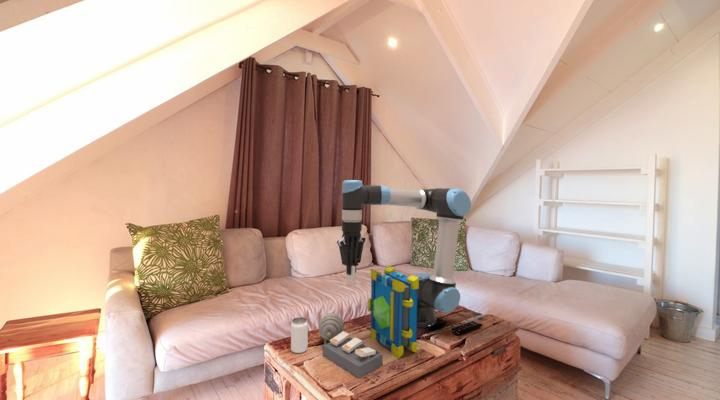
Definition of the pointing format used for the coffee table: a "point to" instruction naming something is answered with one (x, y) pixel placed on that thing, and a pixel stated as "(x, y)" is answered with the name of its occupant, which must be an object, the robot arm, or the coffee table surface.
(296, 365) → the coffee table surface
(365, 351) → the small box
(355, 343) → the rocker
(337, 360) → the rocker switch panel
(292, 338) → the can
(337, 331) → the grey ribbed rounded piece
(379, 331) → the decorative book
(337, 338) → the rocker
